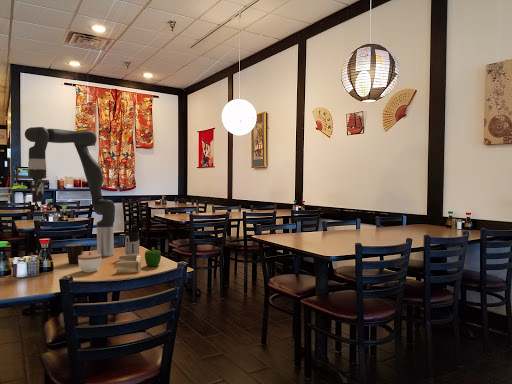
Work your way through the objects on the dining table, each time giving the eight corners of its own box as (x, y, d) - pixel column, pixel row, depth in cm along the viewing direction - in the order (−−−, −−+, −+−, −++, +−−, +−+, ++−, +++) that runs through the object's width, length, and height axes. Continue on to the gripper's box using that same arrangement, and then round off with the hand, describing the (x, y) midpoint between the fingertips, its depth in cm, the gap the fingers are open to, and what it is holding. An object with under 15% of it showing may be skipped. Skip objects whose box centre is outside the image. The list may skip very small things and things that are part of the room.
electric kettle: (142, 256, 223) (142, 231, 222) (133, 261, 209) (133, 234, 208) (127, 256, 223) (127, 231, 223) (118, 261, 209) (117, 234, 209)
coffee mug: (73, 261, 210) (73, 243, 210) (87, 261, 208) (87, 243, 208) (58, 265, 198) (58, 246, 198) (73, 266, 197) (72, 247, 196)
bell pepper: (147, 264, 202) (146, 245, 202) (162, 264, 202) (162, 245, 202) (142, 267, 194) (142, 248, 194) (158, 267, 194) (158, 248, 194)
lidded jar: (78, 269, 190) (78, 251, 190) (101, 267, 194) (101, 249, 194) (77, 274, 180) (77, 254, 180) (101, 272, 184) (101, 253, 184)
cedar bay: (119, 264, 201) (119, 255, 201) (141, 263, 204) (141, 254, 204) (116, 273, 182) (116, 262, 182) (140, 271, 185) (140, 261, 185)
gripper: (33, 169, 188) (33, 201, 189) (23, 168, 174) (24, 203, 175) (49, 169, 190) (50, 201, 191) (41, 168, 176) (42, 202, 177)
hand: (37, 202), depth 183 cm, fingers open, 8 cm apart
